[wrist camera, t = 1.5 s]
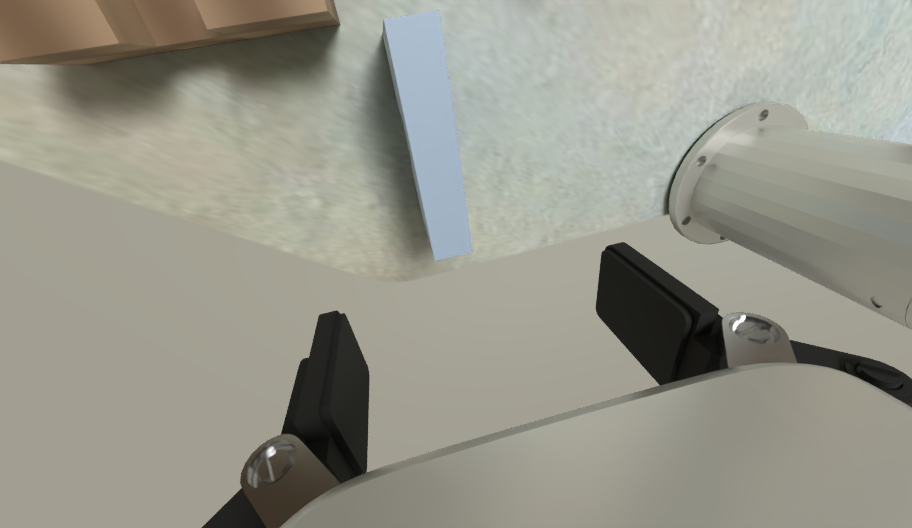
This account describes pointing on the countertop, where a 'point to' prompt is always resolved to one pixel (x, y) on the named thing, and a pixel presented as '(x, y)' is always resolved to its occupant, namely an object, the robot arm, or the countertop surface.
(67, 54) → the walnut slot plate
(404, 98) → the blue slot plate
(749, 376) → the robot arm
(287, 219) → the countertop surface
